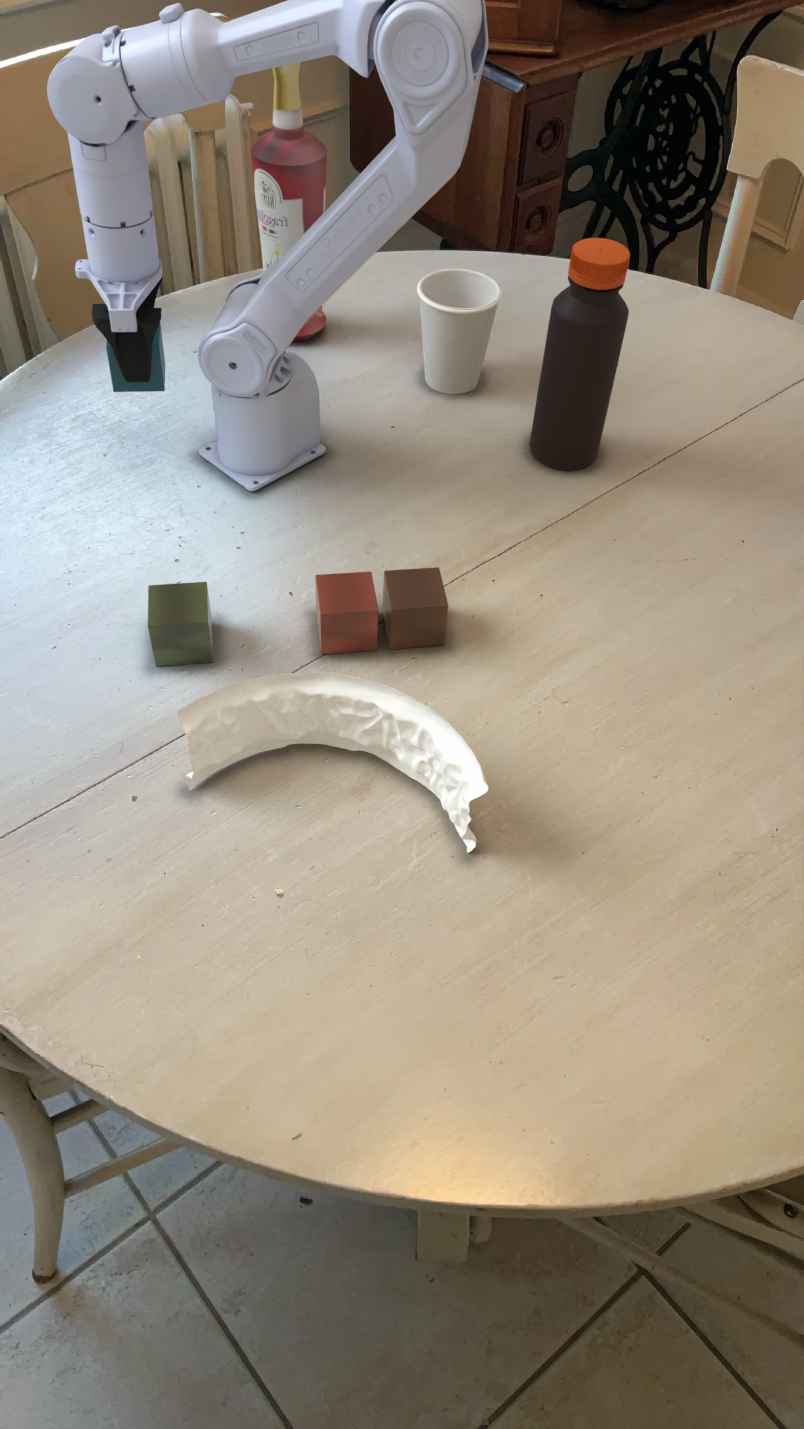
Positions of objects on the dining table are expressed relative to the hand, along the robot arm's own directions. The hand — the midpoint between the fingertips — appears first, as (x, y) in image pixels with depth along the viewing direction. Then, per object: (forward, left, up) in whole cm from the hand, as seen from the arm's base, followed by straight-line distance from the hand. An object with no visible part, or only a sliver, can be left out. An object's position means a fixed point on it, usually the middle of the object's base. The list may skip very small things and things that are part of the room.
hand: (138, 363), depth 95 cm
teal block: (0, 0, -1) cm, 1 cm away
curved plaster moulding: (+16, +43, -9) cm, 46 cm away
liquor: (-24, -6, -9) cm, 26 cm away
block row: (+7, +29, -8) cm, 31 cm away
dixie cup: (-30, +12, -9) cm, 33 cm away
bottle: (-29, +28, -9) cm, 41 cm away
